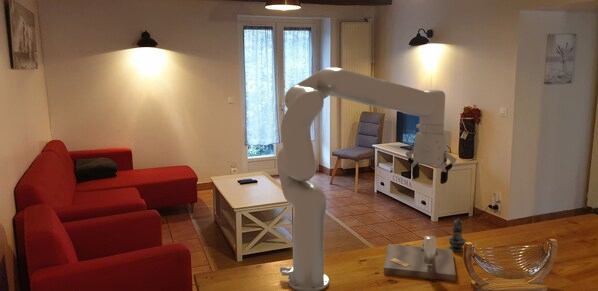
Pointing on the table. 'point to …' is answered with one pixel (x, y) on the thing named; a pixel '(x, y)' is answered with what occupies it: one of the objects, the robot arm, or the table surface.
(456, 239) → the dark grey tower figurine
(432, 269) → the lever board
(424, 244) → the lever
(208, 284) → the table surface
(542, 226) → the table surface
